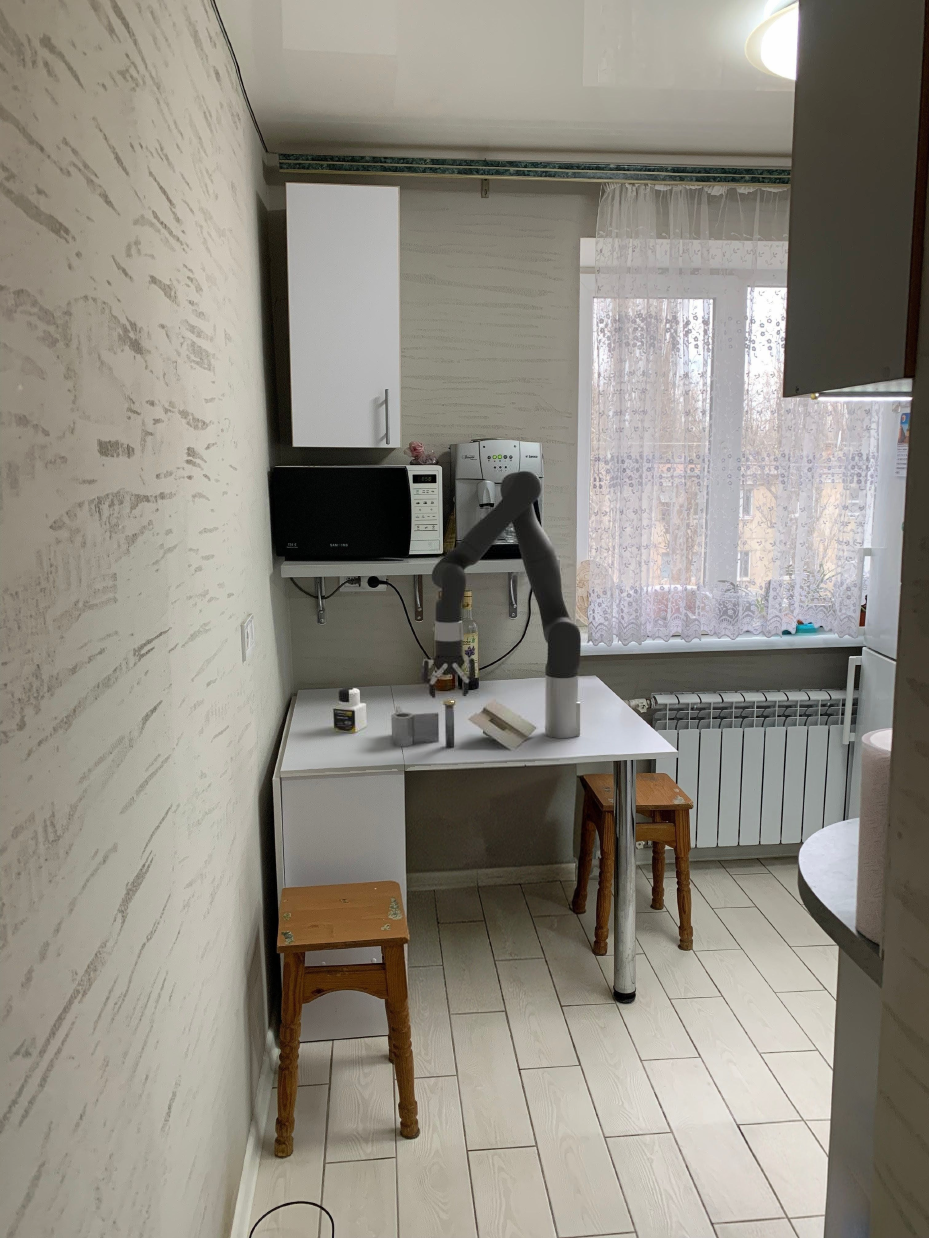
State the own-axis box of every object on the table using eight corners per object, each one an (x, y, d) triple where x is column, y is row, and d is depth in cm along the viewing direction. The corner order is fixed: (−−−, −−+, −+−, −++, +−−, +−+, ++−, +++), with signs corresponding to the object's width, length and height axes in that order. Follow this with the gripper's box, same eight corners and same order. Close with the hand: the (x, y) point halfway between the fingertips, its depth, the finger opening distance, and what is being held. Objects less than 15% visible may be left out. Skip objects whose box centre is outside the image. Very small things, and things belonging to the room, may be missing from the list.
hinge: (432, 731, 264) (431, 704, 263) (440, 743, 252) (440, 715, 250) (387, 734, 261) (387, 706, 260) (393, 747, 249) (393, 718, 248)
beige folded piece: (522, 745, 263) (485, 708, 266) (539, 726, 259) (501, 689, 261) (495, 769, 250) (457, 730, 253) (512, 751, 245) (473, 711, 248)
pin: (454, 744, 251) (454, 699, 249) (457, 747, 248) (456, 702, 246) (442, 745, 250) (442, 699, 248) (445, 748, 247) (444, 702, 245)
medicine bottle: (333, 731, 265) (332, 690, 263) (345, 724, 272) (344, 685, 270) (355, 733, 263) (354, 692, 261) (366, 726, 269) (365, 687, 267)
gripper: (471, 634, 249) (471, 691, 252) (420, 635, 247) (420, 694, 249) (477, 639, 242) (477, 698, 245) (424, 640, 239) (424, 701, 242)
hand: (448, 696), depth 247 cm, fingers open, 8 cm apart
